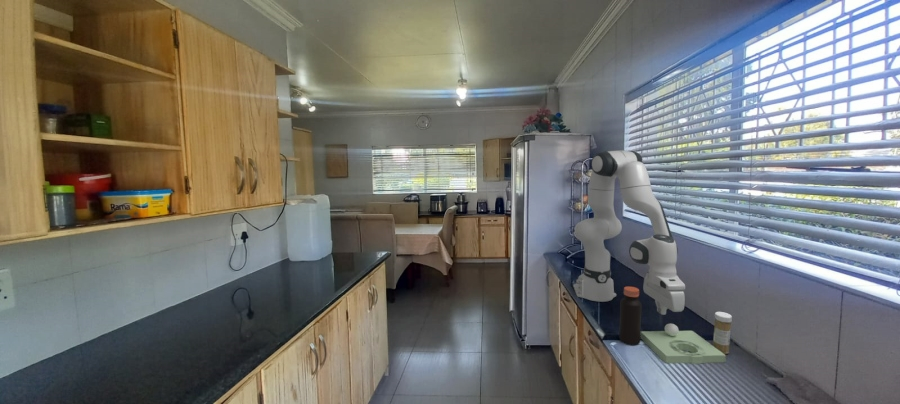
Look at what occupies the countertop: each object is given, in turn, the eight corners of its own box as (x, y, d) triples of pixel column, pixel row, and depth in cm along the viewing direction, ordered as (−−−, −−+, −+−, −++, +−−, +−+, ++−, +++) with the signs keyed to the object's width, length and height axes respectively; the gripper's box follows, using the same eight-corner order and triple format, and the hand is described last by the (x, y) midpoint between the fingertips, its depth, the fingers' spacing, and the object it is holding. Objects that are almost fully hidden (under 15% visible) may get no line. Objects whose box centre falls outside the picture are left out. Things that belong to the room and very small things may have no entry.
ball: (661, 332, 126) (662, 321, 125) (673, 332, 126) (674, 321, 125) (668, 338, 122) (669, 327, 121) (681, 338, 121) (681, 326, 121)
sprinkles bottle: (716, 346, 120) (719, 310, 119) (731, 352, 116) (734, 315, 115) (709, 349, 118) (712, 313, 117) (724, 356, 114) (727, 318, 113)
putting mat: (640, 337, 127) (640, 331, 127) (691, 337, 127) (692, 330, 126) (667, 364, 111) (667, 356, 110) (726, 363, 110) (726, 356, 110)
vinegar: (631, 335, 129) (633, 284, 127) (644, 344, 123) (646, 291, 120) (615, 337, 128) (616, 286, 126) (627, 346, 121) (629, 293, 119)
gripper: (639, 270, 139) (638, 302, 140) (670, 287, 118) (669, 325, 120) (654, 269, 139) (654, 302, 140) (688, 287, 118) (687, 325, 120)
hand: (661, 313), depth 130 cm, fingers closed
